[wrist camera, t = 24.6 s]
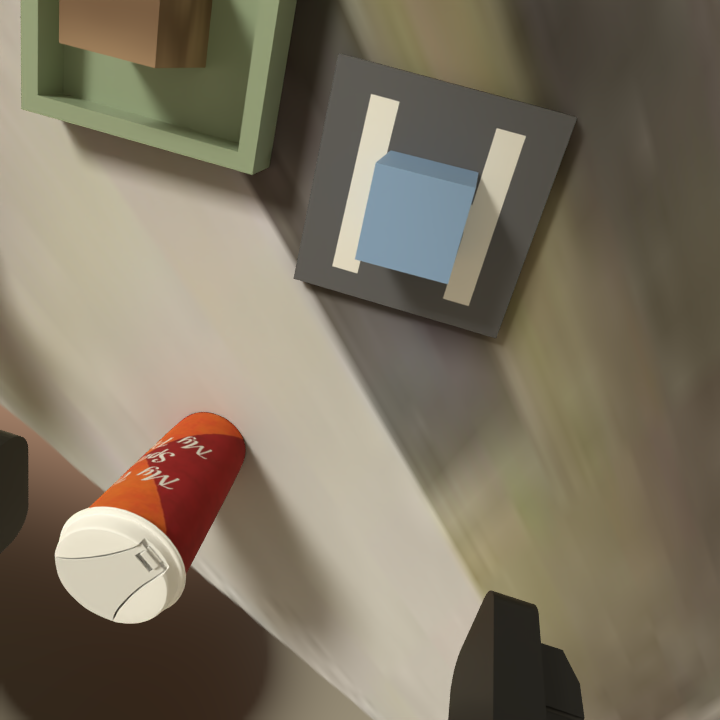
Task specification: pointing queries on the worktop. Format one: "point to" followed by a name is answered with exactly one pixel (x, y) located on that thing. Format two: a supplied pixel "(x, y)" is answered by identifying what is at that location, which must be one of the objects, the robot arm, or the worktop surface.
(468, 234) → the letter mat
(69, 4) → the walnut block
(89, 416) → the worktop surface
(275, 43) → the tray
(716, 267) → the worktop surface
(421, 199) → the slate cube
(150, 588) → the paper cup
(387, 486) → the worktop surface
